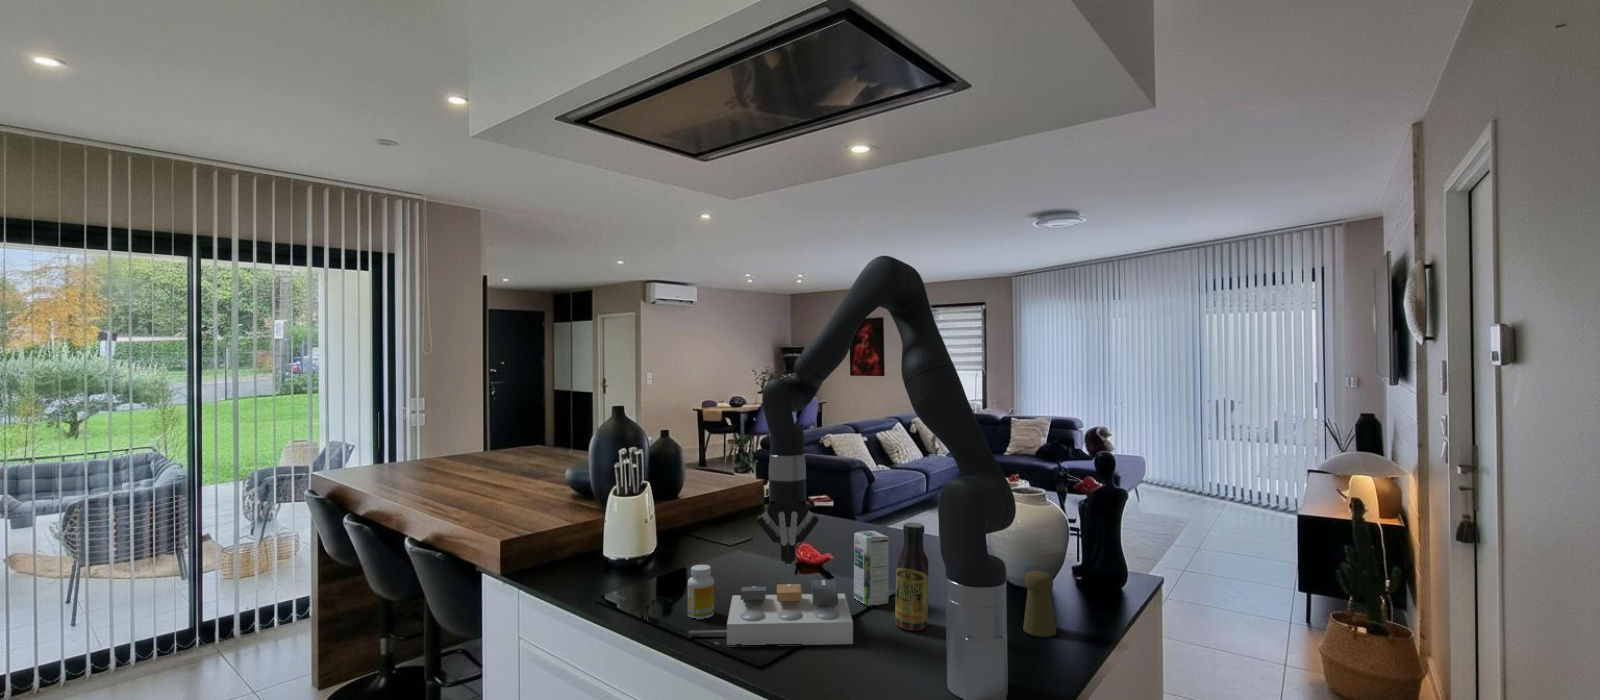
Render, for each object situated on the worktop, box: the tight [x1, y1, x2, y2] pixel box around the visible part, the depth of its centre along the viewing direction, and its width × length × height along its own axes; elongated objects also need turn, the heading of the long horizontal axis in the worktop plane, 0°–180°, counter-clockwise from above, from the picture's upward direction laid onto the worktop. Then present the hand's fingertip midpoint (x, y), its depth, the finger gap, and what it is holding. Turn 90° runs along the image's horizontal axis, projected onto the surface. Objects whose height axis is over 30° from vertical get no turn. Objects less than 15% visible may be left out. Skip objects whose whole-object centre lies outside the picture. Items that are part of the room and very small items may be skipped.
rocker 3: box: [810, 579, 838, 605], centre depth 129 cm, size 6×5×3 cm
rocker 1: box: [740, 585, 767, 603], centre depth 128 cm, size 6×5×3 cm
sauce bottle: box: [894, 521, 930, 632], centre depth 127 cm, size 6×6×20 cm
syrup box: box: [853, 530, 889, 606], centre depth 141 cm, size 6×6×14 cm
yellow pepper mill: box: [1022, 570, 1057, 638], centre depth 125 cm, size 6×6×11 cm
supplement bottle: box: [687, 564, 715, 620], centre depth 133 cm, size 5×5×10 cm
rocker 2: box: [776, 583, 803, 602], centre depth 128 cm, size 6×5×3 cm
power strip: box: [688, 593, 854, 646], centre depth 126 cm, size 15×30×4 cm, turn 92°
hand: (788, 562), depth 131 cm, fingers closed
